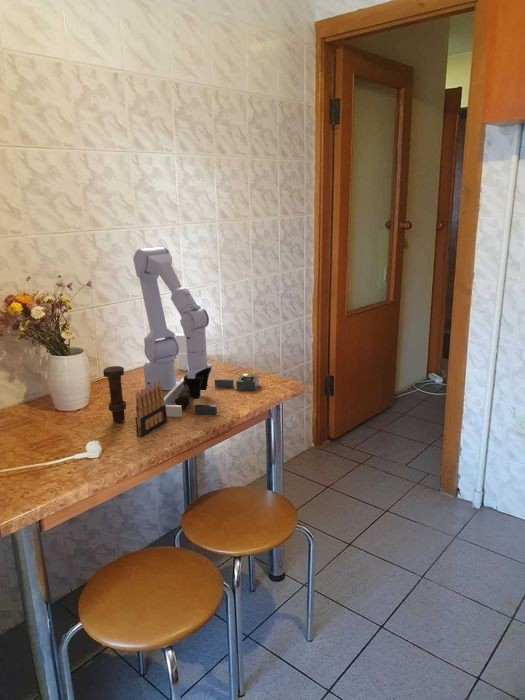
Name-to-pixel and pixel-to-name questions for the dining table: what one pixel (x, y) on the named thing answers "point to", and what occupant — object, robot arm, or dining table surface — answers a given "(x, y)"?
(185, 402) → the hand tool
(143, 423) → the ammunition clip
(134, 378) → the dining table surface
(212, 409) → the tool holder
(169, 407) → the white u-shaped bracket
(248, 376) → the release plunger
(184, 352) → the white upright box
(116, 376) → the bolt
